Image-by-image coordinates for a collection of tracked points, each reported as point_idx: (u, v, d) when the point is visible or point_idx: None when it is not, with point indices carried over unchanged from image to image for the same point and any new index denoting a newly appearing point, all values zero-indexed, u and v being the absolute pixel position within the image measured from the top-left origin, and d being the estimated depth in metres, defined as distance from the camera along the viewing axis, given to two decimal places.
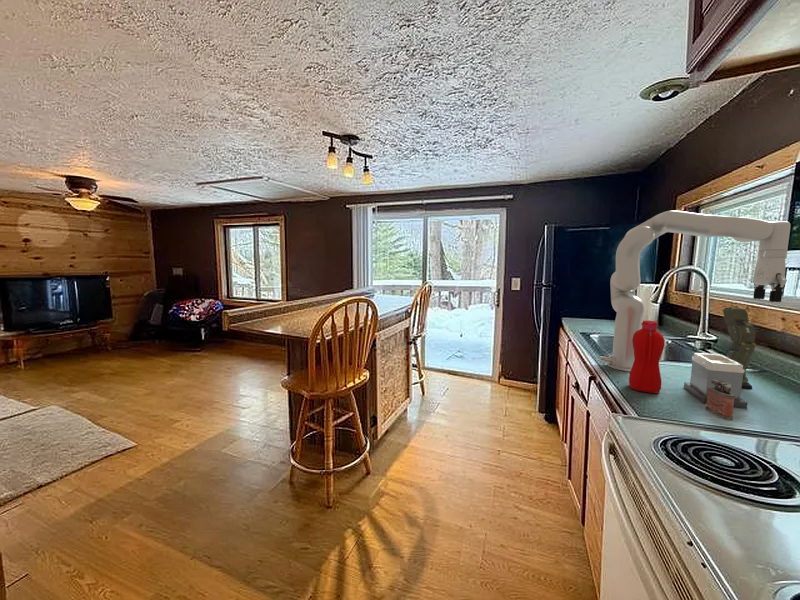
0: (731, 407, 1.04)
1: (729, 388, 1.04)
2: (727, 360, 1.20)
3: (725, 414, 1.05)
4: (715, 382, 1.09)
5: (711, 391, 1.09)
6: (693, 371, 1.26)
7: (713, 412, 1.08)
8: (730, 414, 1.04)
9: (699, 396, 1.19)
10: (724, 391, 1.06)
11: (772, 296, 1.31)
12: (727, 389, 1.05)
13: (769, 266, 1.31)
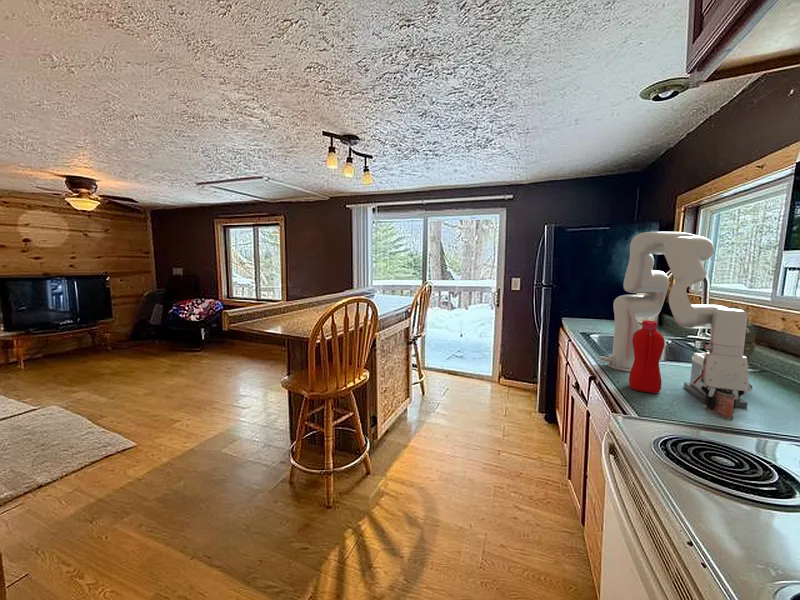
0: (731, 407, 1.04)
1: None
2: None
3: (725, 414, 1.05)
4: None
5: None
6: (693, 371, 1.26)
7: (713, 412, 1.08)
8: (730, 414, 1.04)
9: (699, 396, 1.19)
10: (724, 391, 1.06)
11: None
12: (727, 389, 1.05)
13: (747, 367, 1.03)
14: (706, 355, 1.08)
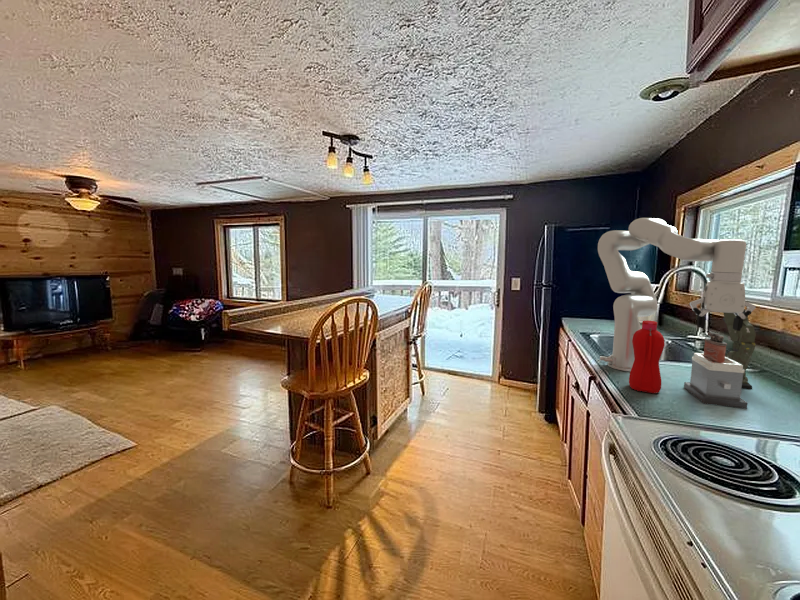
0: (723, 354, 1.16)
1: (721, 337, 1.17)
2: (727, 360, 1.20)
3: (717, 360, 1.17)
4: (710, 334, 1.21)
5: (707, 342, 1.22)
6: (693, 371, 1.26)
7: None
8: (722, 360, 1.17)
9: (699, 396, 1.19)
10: (717, 340, 1.18)
11: None
12: (719, 339, 1.17)
13: (744, 291, 1.14)
14: (707, 283, 1.19)
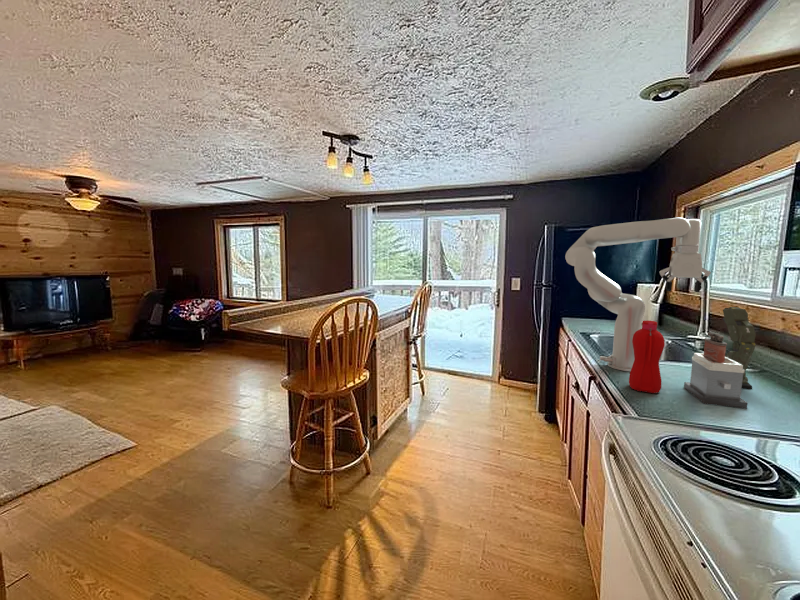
0: (723, 354, 1.16)
1: (721, 337, 1.17)
2: (727, 360, 1.20)
3: (717, 360, 1.17)
4: (710, 334, 1.21)
5: (707, 342, 1.22)
6: (693, 371, 1.26)
7: None
8: (722, 360, 1.17)
9: (699, 396, 1.19)
10: (717, 340, 1.18)
11: None
12: (719, 339, 1.17)
13: (700, 260, 1.43)
14: (673, 255, 1.48)
